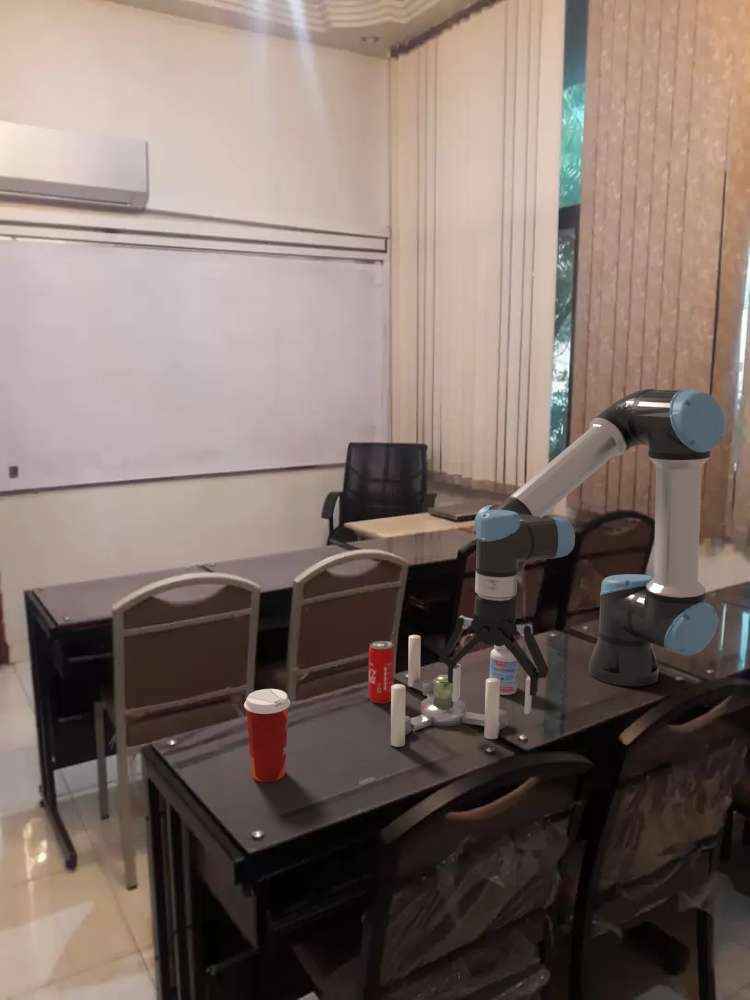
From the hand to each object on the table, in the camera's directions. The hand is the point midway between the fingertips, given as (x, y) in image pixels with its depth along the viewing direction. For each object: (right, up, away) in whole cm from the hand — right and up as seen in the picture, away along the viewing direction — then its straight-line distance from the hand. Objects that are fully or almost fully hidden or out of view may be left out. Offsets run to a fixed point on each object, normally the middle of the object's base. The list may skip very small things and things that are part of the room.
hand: (491, 705), depth 147 cm
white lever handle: (-11, -3, +23) cm, 26 cm away
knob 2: (+1, -6, +4) cm, 7 cm away
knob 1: (-17, -6, +1) cm, 18 cm away
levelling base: (-8, -5, +12) cm, 15 cm away
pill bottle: (+6, -3, +23) cm, 24 cm away
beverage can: (-20, -4, +18) cm, 28 cm away
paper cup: (-40, -9, -13) cm, 43 cm away
